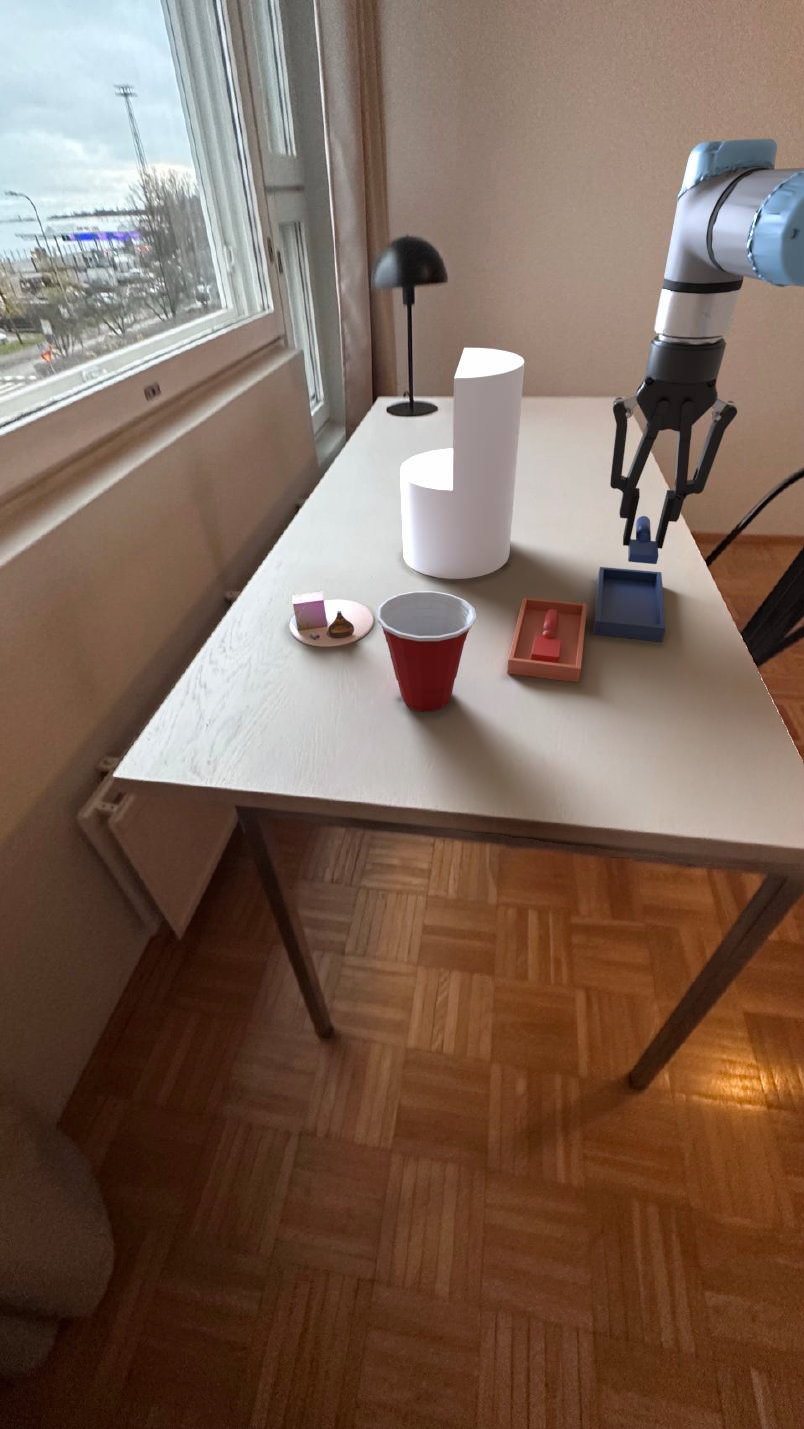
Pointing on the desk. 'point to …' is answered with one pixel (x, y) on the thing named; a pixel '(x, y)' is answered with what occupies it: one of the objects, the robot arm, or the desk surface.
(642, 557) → the blue stamp
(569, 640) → the terracotta tray
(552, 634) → the red rubber stamp
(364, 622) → the round pink plate
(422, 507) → the cylinder
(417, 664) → the plastic cup
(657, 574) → the blue tray
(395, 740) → the desk surface
